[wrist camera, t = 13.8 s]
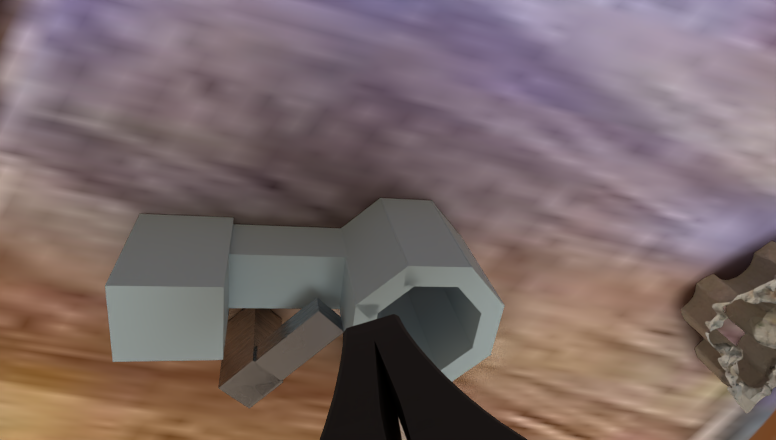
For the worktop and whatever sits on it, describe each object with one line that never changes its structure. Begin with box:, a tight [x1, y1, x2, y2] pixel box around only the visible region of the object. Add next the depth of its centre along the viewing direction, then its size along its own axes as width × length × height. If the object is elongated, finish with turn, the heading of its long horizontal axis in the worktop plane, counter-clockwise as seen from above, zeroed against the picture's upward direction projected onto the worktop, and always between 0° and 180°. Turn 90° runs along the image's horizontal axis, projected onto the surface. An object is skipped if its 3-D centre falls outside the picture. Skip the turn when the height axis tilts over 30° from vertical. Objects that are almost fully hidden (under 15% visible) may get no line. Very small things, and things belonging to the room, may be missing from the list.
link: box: [105, 198, 505, 382], centre depth 21 cm, size 13×5×5 cm, turn 82°
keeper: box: [218, 297, 344, 408], centre depth 22 cm, size 2×5×4 cm, turn 128°
